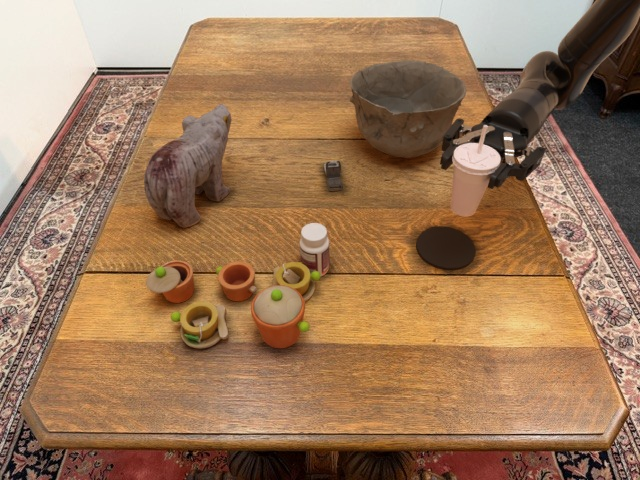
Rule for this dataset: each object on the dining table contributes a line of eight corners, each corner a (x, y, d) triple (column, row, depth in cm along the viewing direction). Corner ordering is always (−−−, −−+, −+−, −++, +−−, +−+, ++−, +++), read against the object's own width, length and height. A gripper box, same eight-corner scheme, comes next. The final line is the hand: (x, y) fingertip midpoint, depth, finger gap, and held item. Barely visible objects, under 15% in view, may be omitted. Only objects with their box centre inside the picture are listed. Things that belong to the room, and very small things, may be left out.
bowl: (332, 135, 106) (333, 71, 96) (412, 112, 113) (421, 50, 103) (385, 190, 93) (393, 122, 82) (472, 159, 100) (490, 93, 89)
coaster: (475, 233, 84) (475, 230, 84) (474, 274, 77) (475, 272, 77) (418, 224, 86) (418, 222, 85) (413, 264, 79) (413, 262, 78)
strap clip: (323, 166, 98) (322, 149, 95) (337, 165, 99) (337, 148, 96) (328, 192, 92) (328, 174, 89) (343, 190, 93) (344, 173, 90)
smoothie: (490, 202, 72) (515, 122, 62) (477, 228, 68) (502, 147, 58) (450, 189, 75) (468, 110, 65) (435, 213, 71) (452, 133, 61)
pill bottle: (322, 253, 81) (322, 217, 75) (333, 273, 78) (334, 237, 72) (296, 261, 79) (294, 225, 73) (306, 281, 76) (305, 245, 70)
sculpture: (241, 168, 98) (231, 102, 87) (217, 238, 84) (201, 169, 73) (183, 165, 99) (166, 100, 88) (149, 234, 84) (124, 165, 74)
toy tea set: (320, 271, 78) (320, 229, 71) (320, 354, 67) (320, 314, 60) (162, 272, 78) (147, 230, 71) (137, 355, 67) (115, 315, 60)
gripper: (477, 85, 74) (424, 132, 65) (571, 114, 68) (526, 171, 59) (467, 126, 79) (417, 175, 70) (553, 157, 73) (510, 215, 64)
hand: (467, 173), depth 64 cm, fingers closed on smoothie, 6 cm apart
